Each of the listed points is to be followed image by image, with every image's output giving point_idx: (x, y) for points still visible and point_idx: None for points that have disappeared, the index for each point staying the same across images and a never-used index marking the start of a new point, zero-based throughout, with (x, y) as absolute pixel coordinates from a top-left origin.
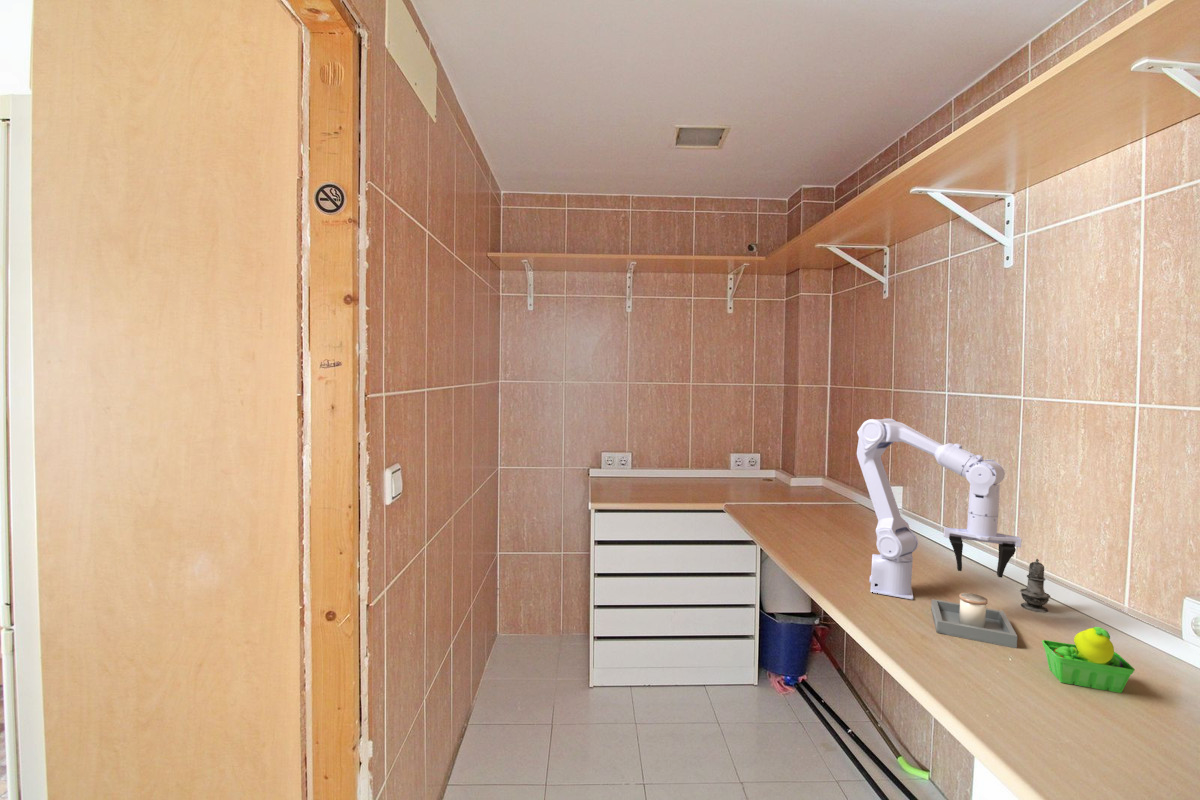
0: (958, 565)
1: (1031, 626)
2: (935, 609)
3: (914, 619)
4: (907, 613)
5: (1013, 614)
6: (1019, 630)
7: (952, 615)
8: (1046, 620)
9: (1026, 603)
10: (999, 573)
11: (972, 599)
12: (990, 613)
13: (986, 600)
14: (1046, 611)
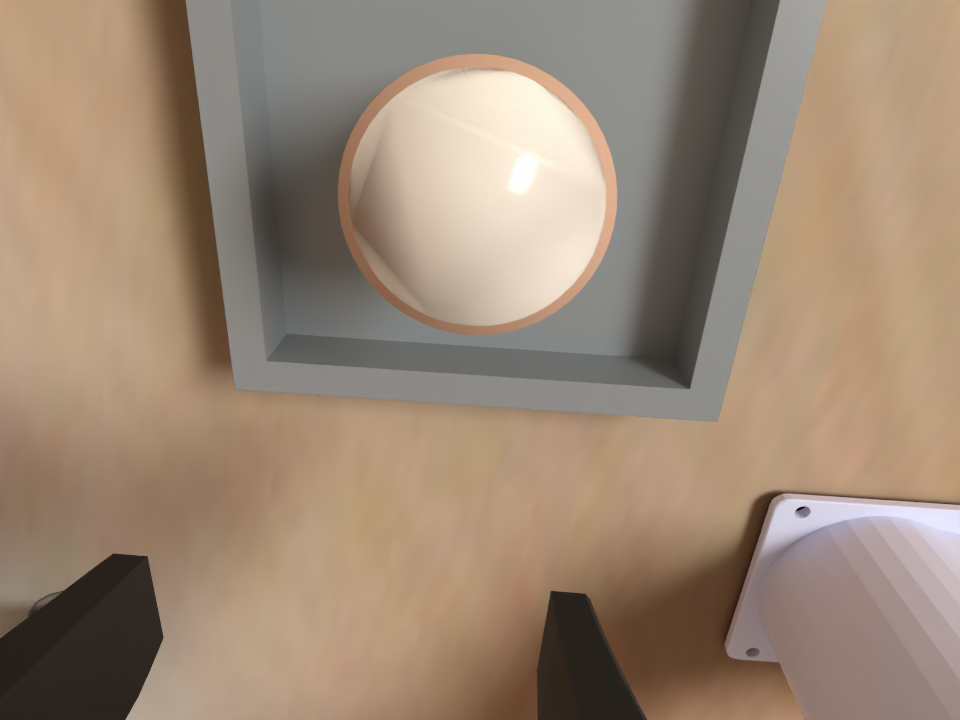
0: (605, 644)
1: (104, 357)
2: (771, 181)
3: (906, 110)
4: (913, 224)
5: (196, 506)
6: (173, 248)
7: (589, 284)
8: (30, 490)
9: None
10: (109, 585)
11: (501, 123)
12: (328, 353)
13: (351, 163)
14: (33, 608)
